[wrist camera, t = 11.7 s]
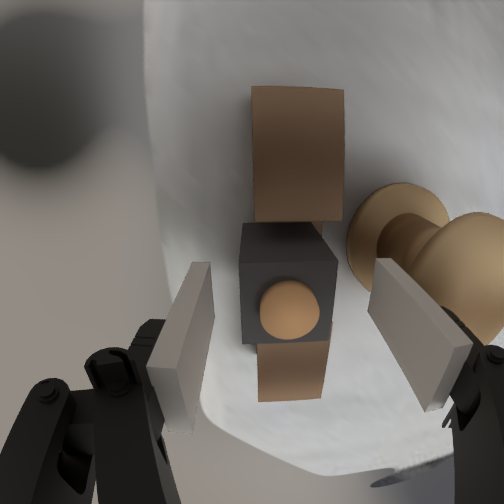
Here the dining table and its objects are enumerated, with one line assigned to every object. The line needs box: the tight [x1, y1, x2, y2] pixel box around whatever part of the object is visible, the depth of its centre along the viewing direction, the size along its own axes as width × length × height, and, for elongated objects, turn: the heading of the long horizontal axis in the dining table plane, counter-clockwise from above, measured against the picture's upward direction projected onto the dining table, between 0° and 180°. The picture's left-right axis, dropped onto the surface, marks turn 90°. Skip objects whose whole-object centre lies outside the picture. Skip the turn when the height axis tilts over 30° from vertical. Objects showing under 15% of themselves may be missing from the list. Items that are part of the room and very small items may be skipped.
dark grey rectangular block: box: [239, 222, 338, 344], centre depth 15 cm, size 4×4×7 cm
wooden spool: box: [346, 183, 504, 346], centre depth 15 cm, size 8×8×9 cm
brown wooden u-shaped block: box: [251, 86, 345, 402], centre depth 17 cm, size 18×4×5 cm, turn 1°
